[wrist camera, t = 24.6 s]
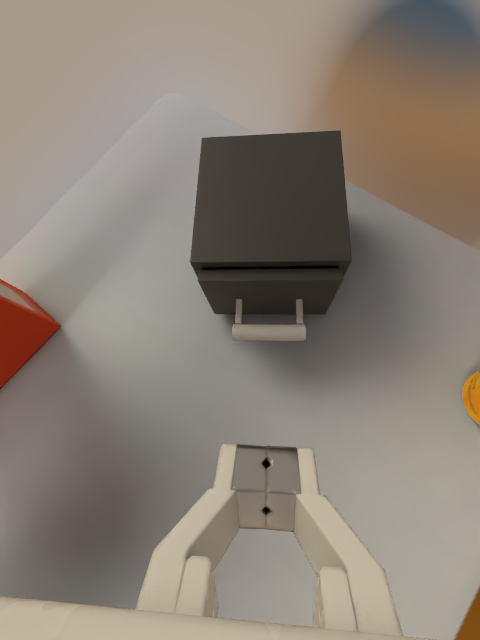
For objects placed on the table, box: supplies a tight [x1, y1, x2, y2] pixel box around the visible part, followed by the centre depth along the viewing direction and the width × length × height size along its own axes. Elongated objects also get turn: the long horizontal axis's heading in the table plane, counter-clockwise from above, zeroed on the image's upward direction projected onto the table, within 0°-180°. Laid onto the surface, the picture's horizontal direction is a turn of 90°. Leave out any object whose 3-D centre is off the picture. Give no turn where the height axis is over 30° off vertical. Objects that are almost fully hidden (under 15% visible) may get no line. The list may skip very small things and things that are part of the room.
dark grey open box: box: [190, 131, 352, 278], centre depth 34 cm, size 14×14×11 cm
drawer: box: [198, 266, 343, 341], centre depth 33 cm, size 17×13×9 cm
